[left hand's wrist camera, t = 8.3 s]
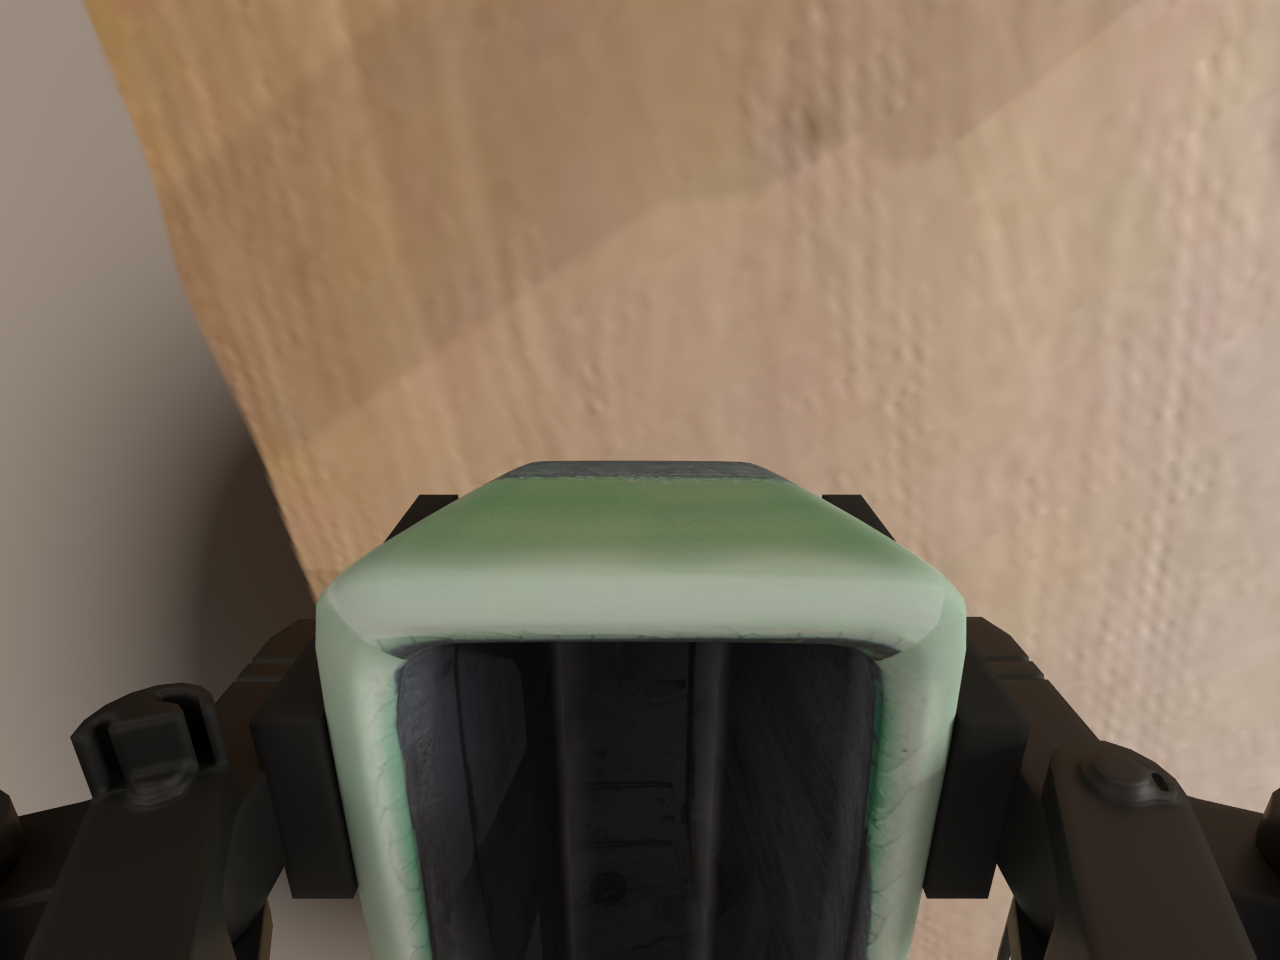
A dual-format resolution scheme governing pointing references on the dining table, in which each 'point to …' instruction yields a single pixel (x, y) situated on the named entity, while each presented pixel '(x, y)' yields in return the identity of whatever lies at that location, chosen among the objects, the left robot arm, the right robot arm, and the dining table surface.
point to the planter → (640, 720)
